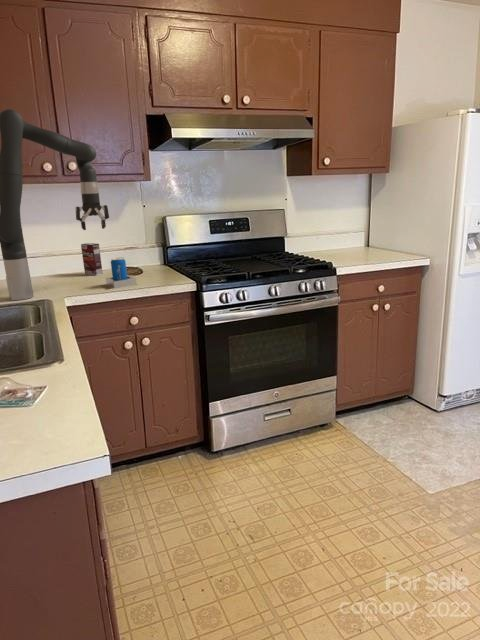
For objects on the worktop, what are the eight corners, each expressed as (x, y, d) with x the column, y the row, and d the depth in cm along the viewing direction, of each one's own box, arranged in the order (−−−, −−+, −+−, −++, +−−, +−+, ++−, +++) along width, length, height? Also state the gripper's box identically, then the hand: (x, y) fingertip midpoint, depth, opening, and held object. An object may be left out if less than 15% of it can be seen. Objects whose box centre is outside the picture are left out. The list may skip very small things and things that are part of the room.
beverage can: (113, 286, 216) (110, 260, 212) (113, 283, 222) (110, 258, 219) (127, 285, 217) (124, 259, 214) (128, 282, 223) (125, 256, 220)
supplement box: (84, 274, 250) (80, 244, 245) (91, 272, 254) (87, 242, 249) (96, 275, 246) (92, 244, 241) (103, 273, 250) (99, 243, 245)
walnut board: (106, 291, 211) (105, 289, 211) (98, 287, 219) (98, 285, 219) (138, 285, 219) (137, 284, 219) (130, 282, 227) (129, 280, 227)
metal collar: (114, 288, 213) (113, 281, 212) (106, 284, 221) (105, 278, 220) (136, 284, 218) (135, 278, 217) (128, 280, 227) (127, 274, 226)
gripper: (75, 193, 207) (80, 231, 211) (108, 192, 214) (112, 228, 219) (71, 193, 213) (76, 229, 218) (103, 191, 220) (107, 227, 225)
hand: (94, 229), depth 218 cm, fingers open, 8 cm apart
